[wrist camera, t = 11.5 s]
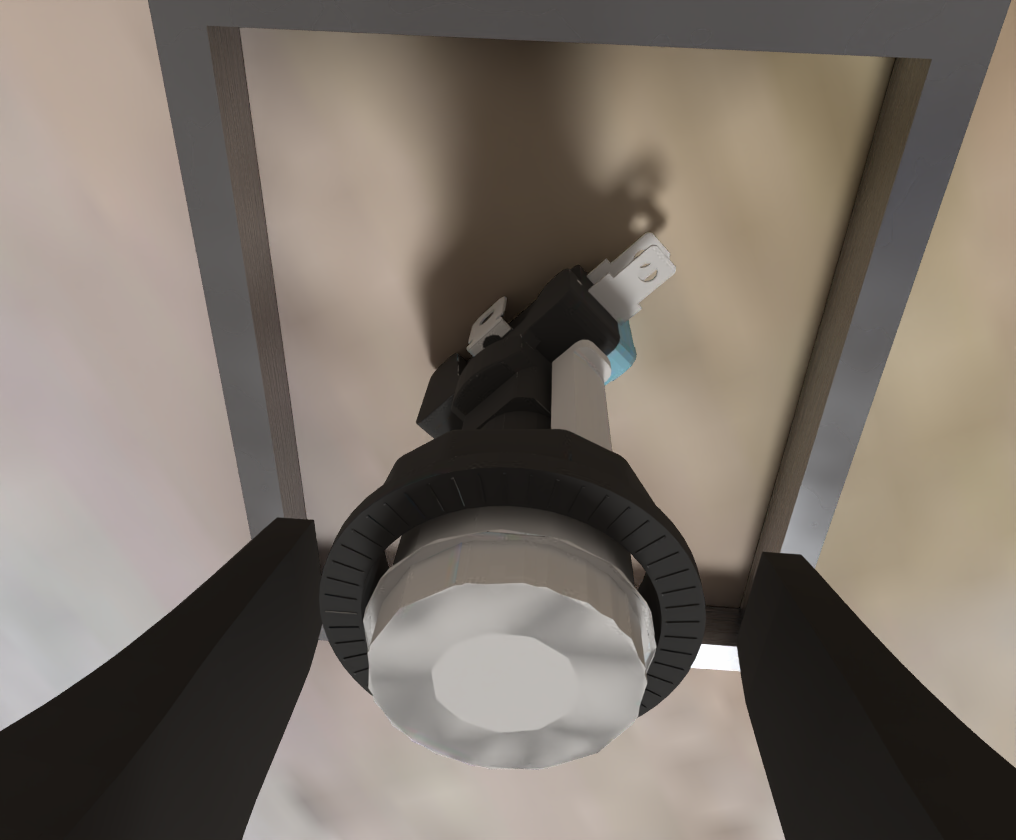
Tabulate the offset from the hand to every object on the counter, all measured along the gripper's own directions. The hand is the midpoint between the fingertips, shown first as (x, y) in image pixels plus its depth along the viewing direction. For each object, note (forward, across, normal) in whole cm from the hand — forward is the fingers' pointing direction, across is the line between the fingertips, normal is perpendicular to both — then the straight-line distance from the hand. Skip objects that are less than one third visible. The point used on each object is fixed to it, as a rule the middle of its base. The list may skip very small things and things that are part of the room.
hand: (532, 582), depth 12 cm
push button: (+8, 0, -1) cm, 8 cm away
